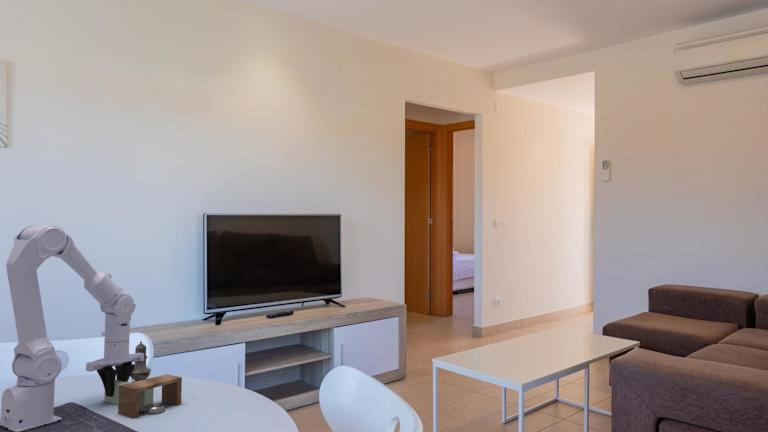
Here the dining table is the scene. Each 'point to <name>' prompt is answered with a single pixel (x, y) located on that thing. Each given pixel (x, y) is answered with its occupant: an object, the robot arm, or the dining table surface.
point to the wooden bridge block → (130, 391)
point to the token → (154, 409)
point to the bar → (144, 396)
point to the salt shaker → (140, 365)
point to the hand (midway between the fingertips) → (115, 394)
